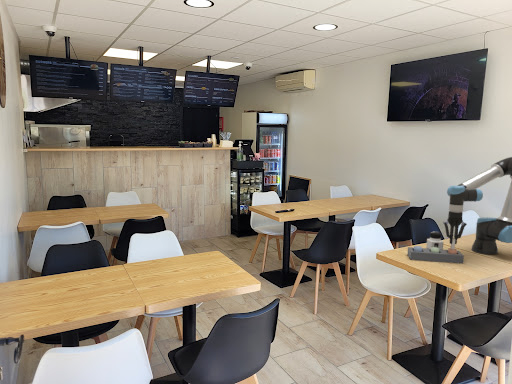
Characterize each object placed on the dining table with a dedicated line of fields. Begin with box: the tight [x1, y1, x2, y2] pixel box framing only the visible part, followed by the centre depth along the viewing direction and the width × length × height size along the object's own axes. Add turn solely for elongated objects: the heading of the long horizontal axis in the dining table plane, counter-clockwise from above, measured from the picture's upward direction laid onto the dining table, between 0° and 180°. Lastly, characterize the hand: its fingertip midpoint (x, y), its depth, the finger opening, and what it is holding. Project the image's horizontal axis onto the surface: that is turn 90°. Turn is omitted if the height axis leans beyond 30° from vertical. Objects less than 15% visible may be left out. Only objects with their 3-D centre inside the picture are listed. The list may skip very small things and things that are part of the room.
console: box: [407, 246, 465, 265], centre depth 237 cm, size 30×11×5 cm, turn 77°
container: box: [425, 231, 444, 250], centre depth 253 cm, size 8×8×13 cm
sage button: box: [431, 247, 439, 253], centre depth 236 cm, size 5×5×5 cm
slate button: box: [413, 245, 423, 252], centre depth 239 cm, size 5×5×5 cm
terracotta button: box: [447, 247, 458, 254], centre depth 234 cm, size 5×5×5 cm
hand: (452, 248), depth 234 cm, fingers closed
